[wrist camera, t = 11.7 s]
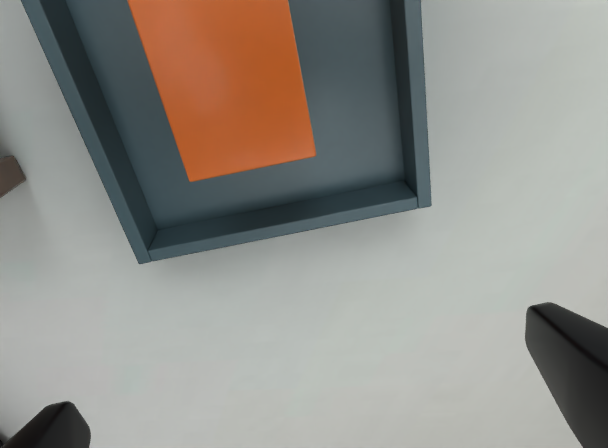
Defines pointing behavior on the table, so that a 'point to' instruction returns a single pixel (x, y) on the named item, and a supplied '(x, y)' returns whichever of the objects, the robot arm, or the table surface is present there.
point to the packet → (227, 82)
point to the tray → (262, 181)
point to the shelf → (9, 175)
